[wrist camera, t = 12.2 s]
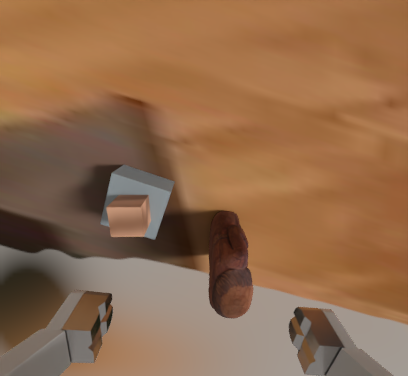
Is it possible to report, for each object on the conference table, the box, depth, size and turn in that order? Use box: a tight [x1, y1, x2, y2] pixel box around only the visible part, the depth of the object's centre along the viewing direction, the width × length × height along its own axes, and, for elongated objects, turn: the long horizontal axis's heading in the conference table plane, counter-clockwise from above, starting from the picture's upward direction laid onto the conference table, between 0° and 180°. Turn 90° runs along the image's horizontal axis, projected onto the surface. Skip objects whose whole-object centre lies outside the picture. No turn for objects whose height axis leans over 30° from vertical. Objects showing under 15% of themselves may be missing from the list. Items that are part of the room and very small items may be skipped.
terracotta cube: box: [106, 195, 151, 237], centre depth 33 cm, size 5×5×5 cm
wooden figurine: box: [209, 211, 253, 318], centre depth 36 cm, size 12×6×18 cm, turn 174°
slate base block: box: [100, 165, 174, 240], centre depth 38 cm, size 10×10×6 cm
